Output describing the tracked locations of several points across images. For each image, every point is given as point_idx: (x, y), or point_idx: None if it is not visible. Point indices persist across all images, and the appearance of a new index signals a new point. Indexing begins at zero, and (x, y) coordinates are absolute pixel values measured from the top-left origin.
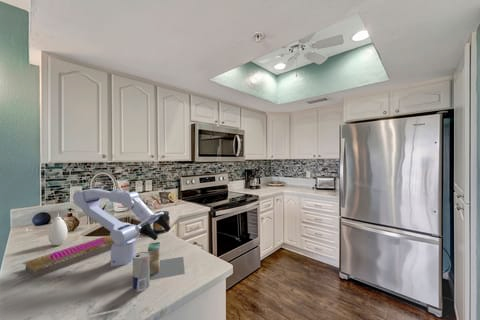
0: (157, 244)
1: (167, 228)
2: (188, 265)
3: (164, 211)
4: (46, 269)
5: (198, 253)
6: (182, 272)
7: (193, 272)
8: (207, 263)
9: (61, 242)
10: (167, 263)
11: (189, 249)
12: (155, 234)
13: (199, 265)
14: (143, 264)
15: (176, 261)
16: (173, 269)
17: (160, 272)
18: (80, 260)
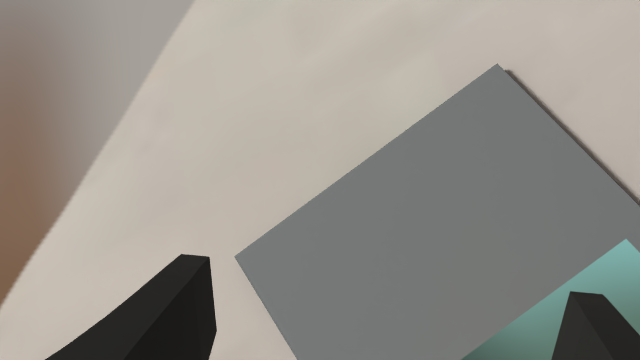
0: (523, 353)
1: (196, 320)
2: (350, 132)
3: None
4: None
5: (136, 172)
6: (488, 90)
7: (436, 32)
8: (282, 12)
9: None
10: (394, 328)
11: (68, 304)
12: (616, 334)
13: (326, 50)
14: None
15: (336, 261)
16: (474, 194)
17: (566, 280)
18: None
